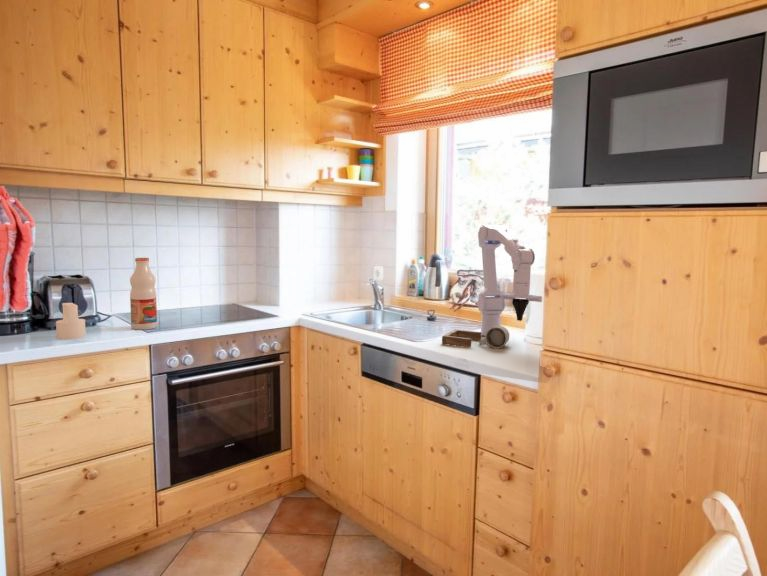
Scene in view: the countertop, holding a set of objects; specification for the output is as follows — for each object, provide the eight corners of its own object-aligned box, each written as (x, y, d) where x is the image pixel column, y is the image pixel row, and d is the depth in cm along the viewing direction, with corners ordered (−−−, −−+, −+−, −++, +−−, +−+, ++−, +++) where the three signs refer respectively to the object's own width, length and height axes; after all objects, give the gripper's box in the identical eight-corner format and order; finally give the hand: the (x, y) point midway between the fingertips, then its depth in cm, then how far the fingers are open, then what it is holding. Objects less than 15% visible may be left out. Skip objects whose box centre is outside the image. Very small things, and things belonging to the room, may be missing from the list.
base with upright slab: (88, 337, 183) (87, 304, 182) (59, 340, 177) (58, 307, 175) (82, 333, 189) (80, 301, 188) (54, 336, 183) (52, 303, 182)
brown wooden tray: (454, 336, 199) (455, 329, 199) (480, 339, 194) (481, 332, 194) (442, 344, 186) (442, 336, 185) (469, 347, 181) (470, 339, 181)
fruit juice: (139, 325, 207) (137, 257, 204) (161, 326, 207) (159, 257, 204) (126, 329, 198) (123, 258, 195) (149, 330, 197) (147, 259, 194)
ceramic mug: (510, 345, 187) (510, 324, 186) (506, 349, 179) (506, 328, 178) (481, 342, 191) (482, 322, 190) (476, 346, 183) (477, 326, 183)
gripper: (498, 282, 180) (496, 319, 182) (540, 285, 174) (538, 323, 175) (503, 280, 186) (501, 317, 188) (543, 283, 180) (541, 320, 182)
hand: (519, 320), depth 182 cm, fingers closed
